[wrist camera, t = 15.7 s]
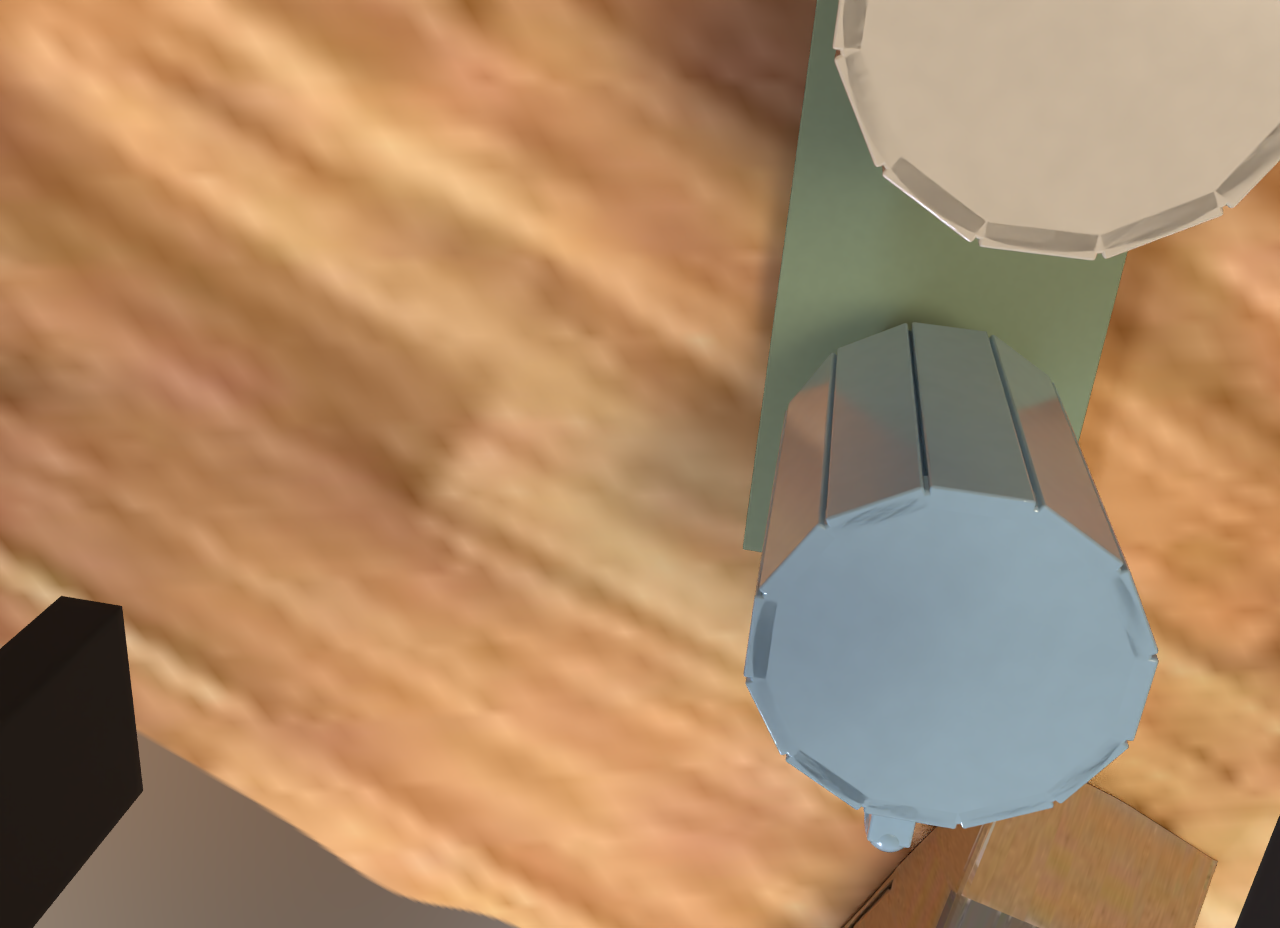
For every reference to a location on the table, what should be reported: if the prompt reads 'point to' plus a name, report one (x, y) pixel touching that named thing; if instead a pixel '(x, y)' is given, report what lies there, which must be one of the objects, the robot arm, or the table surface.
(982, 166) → the cream cup
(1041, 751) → the blue cup
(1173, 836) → the sandwich container
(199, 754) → the table surface
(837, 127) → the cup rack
